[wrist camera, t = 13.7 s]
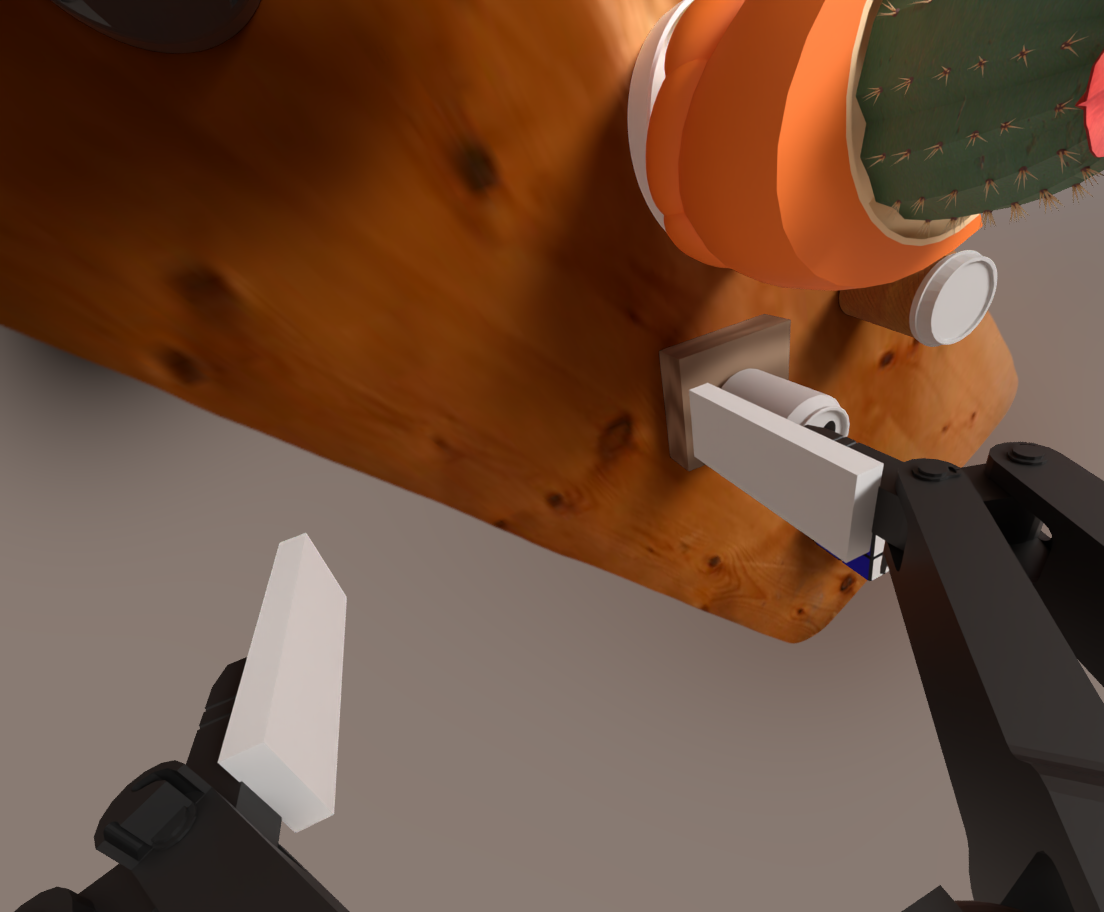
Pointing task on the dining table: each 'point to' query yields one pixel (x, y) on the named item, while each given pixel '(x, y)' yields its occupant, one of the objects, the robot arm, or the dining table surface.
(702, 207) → the potted cactus
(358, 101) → the dining table surface
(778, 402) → the can
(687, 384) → the plinth
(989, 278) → the disposable coffee cup
